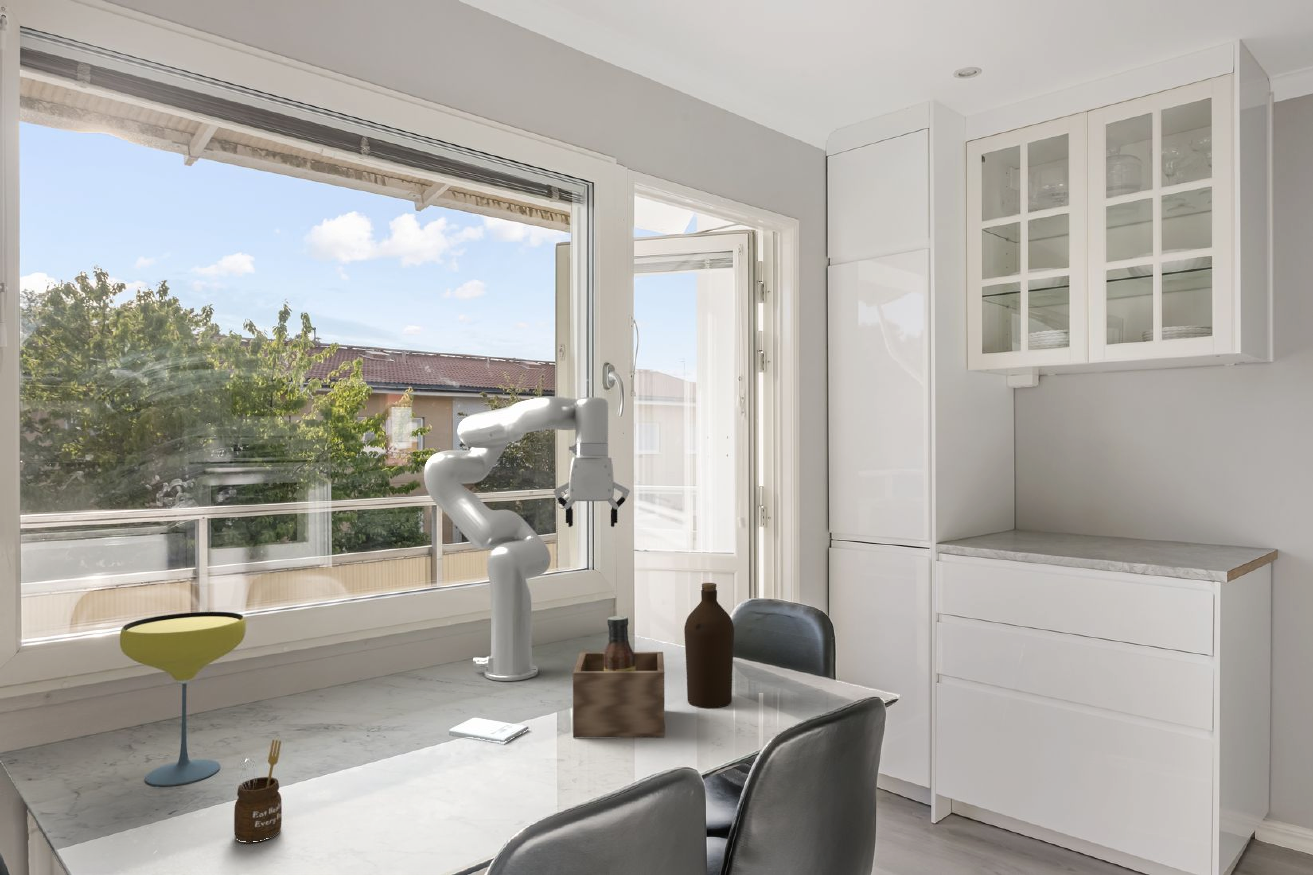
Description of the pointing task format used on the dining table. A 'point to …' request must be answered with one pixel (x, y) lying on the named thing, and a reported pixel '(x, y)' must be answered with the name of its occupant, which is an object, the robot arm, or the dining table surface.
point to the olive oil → (709, 652)
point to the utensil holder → (258, 804)
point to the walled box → (619, 697)
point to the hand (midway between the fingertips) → (591, 526)
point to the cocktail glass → (182, 668)
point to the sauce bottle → (618, 646)
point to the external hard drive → (487, 730)
